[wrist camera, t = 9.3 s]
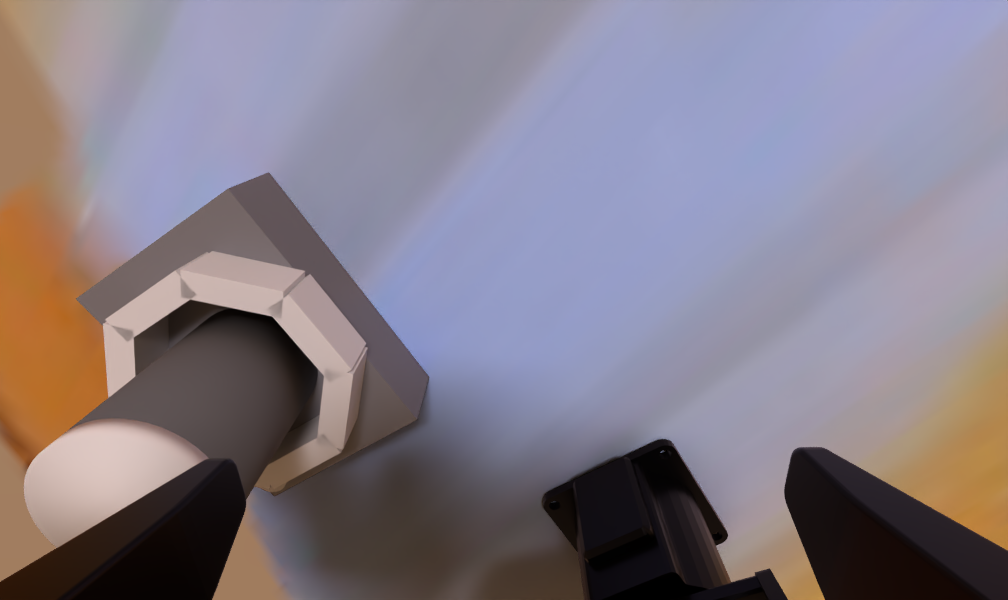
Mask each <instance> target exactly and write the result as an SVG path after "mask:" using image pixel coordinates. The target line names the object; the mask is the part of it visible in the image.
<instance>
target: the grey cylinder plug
mask: <svg viewBox="0 0 1008 600" xmlns="http://www.w3.org/2000/svg"><path fill="white" fill-rule="evenodd" d="M317 377H318V369H317V367H316V366H315V365H314V364H313V363H312V362H311V360H310V359H309V358H308V357H307V356H306V355H305V354H304V352H303V351H302V350H301V349H300V348H299V347H298V345H297V344H296V343H295V342H294V341H293V340H292V339H291V337H290V336H289V335H288V334H287V333H286V332H285V331H284V329H283V328H282V327H281V326H280V325H279V324H278V322H277V321H276V320H275V319H274V318H273V317H272V316H268V315H263V314H258V313H253V312H248V311H244V310H239V309H234V308H230V309H225V310H222V311H220V312H217V313H215V314H214V315H212V316H210V317H209V318H208V319H207V320H205V321H204V322H203V323H201V324H200V325H199V326H198V327H196V328H195V329H194V330H193V331H192V332H190V333H189V334H188V335H187V336H185V337H184V338H183V339H182V340H180V341H179V342H178V343H177V344H175V345H174V346H173V347H172V348H170V349H169V350H168V351H167V352H165V353H164V354H163V355H162V356H160V357H159V358H158V359H157V360H155V361H154V362H153V363H152V364H150V365H149V366H148V367H147V368H145V369H144V370H143V371H142V372H140V373H139V374H138V375H137V376H135V377H134V378H133V379H132V380H130V381H129V382H128V383H127V384H125V385H124V386H123V387H122V388H120V389H119V390H118V391H117V392H115V393H114V394H113V395H112V396H110V397H109V398H108V399H107V400H105V401H104V402H103V403H102V404H100V405H99V406H98V407H97V408H95V409H94V410H93V411H92V412H90V413H89V414H88V415H87V416H85V417H84V418H83V419H82V420H80V421H79V422H78V423H77V424H75V425H74V426H73V427H72V428H70V429H69V430H68V431H67V432H65V433H64V434H63V435H62V436H60V437H59V438H58V439H57V440H55V441H54V442H53V443H52V444H50V445H49V446H48V447H47V448H45V449H44V450H43V451H42V452H40V453H39V454H38V455H37V456H36V457H35V459H34V460H33V461H32V463H31V464H30V466H29V468H28V470H27V473H26V476H25V481H24V497H25V501H26V505H27V508H28V510H29V513H30V515H31V517H32V519H33V520H34V522H35V524H36V526H37V527H38V528H39V530H40V531H41V532H42V534H43V535H44V536H45V537H46V538H47V539H48V540H49V541H50V542H51V543H52V544H53V545H54V546H55V547H57V548H58V547H59V546H61V545H63V544H64V543H66V542H68V541H69V540H71V539H73V538H74V537H76V536H78V535H79V534H81V533H83V532H84V531H86V530H88V529H89V528H91V527H93V526H94V525H96V524H98V523H99V522H101V521H103V520H105V519H106V518H108V517H110V516H111V515H113V514H115V513H116V512H118V511H120V510H121V509H123V508H125V507H126V506H128V505H130V504H131V503H133V502H135V501H136V500H138V499H140V498H141V497H143V496H145V495H146V494H148V493H150V492H151V491H153V490H155V489H156V488H158V487H160V486H161V485H163V484H165V483H166V482H168V481H170V480H171V479H173V478H175V477H176V476H178V475H180V474H181V473H183V472H185V471H186V470H188V469H190V468H192V467H193V466H195V465H197V464H198V463H200V462H202V461H203V460H206V459H210V458H230V459H232V460H234V461H235V463H236V465H237V468H238V471H239V475H240V478H241V481H242V485H243V488H244V492H245V496H246V499H247V497H248V496H249V494H250V492H251V491H252V489H253V488H254V486H255V484H256V483H257V481H258V479H259V478H260V476H261V475H262V473H263V471H264V470H265V468H266V467H267V465H268V463H269V462H270V460H271V459H272V457H273V455H274V454H275V452H276V450H277V449H278V447H279V446H280V444H281V442H282V441H283V439H284V438H285V436H286V434H287V433H288V431H289V430H290V428H291V426H292V425H293V423H294V422H295V420H296V418H297V417H298V415H299V413H300V412H301V410H302V409H303V407H304V405H305V404H306V402H307V401H308V399H309V397H310V396H311V394H312V392H313V390H314V388H315V385H316V382H317Z"/></svg>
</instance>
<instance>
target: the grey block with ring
mask: <svg viewBox="0 0 1008 600" xmlns="http://www.w3.org/2000/svg"><path fill="white" fill-rule="evenodd" d="M76 300H77V301H78V302H79V303H80V304H81V305H82V306H83V307H84V308H85V309H86V310H87V311H88V312H89V313H90V314H91V315H93V316H94V317H95V318H96V319H97V320H98V321H99V322H100V323H101V324H102V325H103V330H104V343H105V357H106V371H107V384H108V398H109V397H110V396H112V395H113V394H114V393H115V392H117V391H118V390H119V389H120V388H122V387H123V386H124V385H125V384H127V383H128V382H129V381H130V380H132V379H133V378H134V377H135V376H137V375H138V374H139V373H140V372H142V371H143V370H144V369H145V368H147V367H148V366H149V365H150V364H152V363H153V362H154V361H155V360H157V359H158V358H159V357H160V356H162V355H163V354H164V353H165V352H167V351H168V350H169V349H170V348H172V347H173V346H174V345H175V344H177V343H178V342H179V341H180V340H182V339H183V338H184V337H185V336H187V335H188V334H189V333H190V332H192V331H193V330H194V329H195V328H196V327H198V326H199V325H200V324H201V323H203V322H204V321H205V320H207V319H208V318H209V317H210V316H212V315H214V314H215V313H217V312H220V311H222V310H225V309H230V308H234V309H239V310H244V311H248V312H253V313H258V314H263V315H268V316H272V317H273V318H274V319H275V320H276V321H277V322H278V324H279V325H280V326H281V327H282V328H283V329H284V331H285V332H286V333H287V334H288V335H289V336H290V337H291V339H292V340H293V341H294V342H295V343H296V344H297V345H298V347H299V348H300V349H301V350H302V351H303V352H304V354H305V355H306V356H307V357H308V358H309V359H310V360H311V362H312V363H313V364H314V365H315V366H316V367H317V369H318V377H317V382H316V385H315V388H314V390H313V392H312V394H311V396H310V397H309V399H308V401H307V402H306V404H305V405H304V407H303V409H302V410H301V412H300V413H299V415H298V417H297V418H296V420H295V422H294V423H293V425H292V426H291V428H290V430H289V431H288V433H287V434H286V436H285V438H284V439H283V441H282V442H281V444H280V446H279V447H278V449H277V450H276V452H275V454H274V455H273V457H272V459H271V460H270V462H269V463H268V465H267V467H266V468H265V470H264V471H263V473H262V475H261V476H260V478H259V479H258V481H257V483H256V484H255V486H254V487H259V488H261V489H263V490H265V491H269V492H271V493H272V494H273V495H274V496H276V495H278V494H280V493H282V492H283V491H285V490H287V489H289V488H291V487H293V486H295V485H296V484H298V483H300V482H302V481H304V480H306V479H308V478H310V477H311V476H313V475H315V474H317V473H319V472H321V471H323V470H324V469H326V468H328V467H330V466H332V465H334V464H336V463H337V462H339V461H341V460H343V459H345V458H347V457H349V456H350V455H352V454H354V453H356V452H358V451H360V450H362V449H364V448H365V447H367V446H369V445H371V444H373V443H375V442H377V441H378V440H380V439H382V438H384V437H386V436H388V435H390V434H391V433H393V432H395V431H397V430H399V429H401V428H403V427H404V426H406V425H408V424H410V423H412V422H414V421H416V420H417V419H418V415H419V412H420V408H421V405H422V401H423V397H424V394H425V390H426V387H427V383H428V380H429V376H428V375H427V374H426V372H425V371H424V370H423V369H422V367H421V366H420V365H419V363H418V362H417V361H416V360H415V358H414V357H413V356H412V355H411V353H410V352H409V351H408V349H407V348H406V347H405V346H404V344H403V343H402V342H401V340H400V339H399V338H398V337H397V335H396V334H395V333H394V332H393V330H392V329H391V328H390V326H389V325H388V324H387V323H386V321H385V320H384V319H383V317H382V316H381V315H380V314H379V312H378V311H377V310H376V309H375V307H374V306H373V305H372V303H371V302H370V301H369V300H368V298H367V297H366V296H365V295H364V293H363V292H362V291H361V289H360V288H359V287H358V286H357V284H356V283H355V282H354V280H353V279H352V278H351V277H350V275H349V274H348V273H347V272H346V270H345V269H344V268H343V266H342V265H341V264H340V263H339V261H338V260H337V259H336V257H335V256H334V255H333V254H332V252H331V251H330V250H329V249H328V247H327V246H326V245H325V243H324V242H323V241H322V240H321V238H320V237H319V236H318V234H317V233H316V232H315V231H314V229H313V228H312V227H311V226H310V224H309V223H308V222H307V220H306V219H305V218H304V217H303V215H302V214H301V213H300V211H299V210H298V209H297V208H296V206H295V205H294V204H293V203H292V201H291V200H290V199H289V197H288V196H287V195H286V194H285V192H284V191H283V190H282V188H281V187H280V186H279V185H278V183H277V182H276V181H275V180H274V178H273V177H272V176H271V174H270V173H266V174H264V175H261V176H259V177H256V178H254V179H251V180H249V181H246V182H244V183H241V184H239V185H236V186H234V187H231V188H229V189H227V190H226V191H224V192H223V193H221V194H220V195H219V196H217V197H216V198H214V199H213V200H212V201H210V202H209V203H208V204H206V205H205V206H203V207H202V208H201V209H199V210H198V211H197V212H195V213H194V214H192V215H191V216H190V217H188V218H187V219H185V220H184V221H183V222H181V223H180V224H179V225H177V226H176V227H174V228H173V229H172V230H170V231H169V232H168V233H166V234H165V235H163V236H162V237H161V238H159V239H158V240H156V241H155V242H154V243H152V244H151V245H150V246H148V247H147V248H145V249H144V250H143V251H141V252H140V253H139V254H137V255H136V256H134V257H133V258H132V259H130V260H129V261H128V262H126V263H125V264H123V265H122V266H121V267H119V268H118V269H116V270H115V271H114V272H112V273H111V274H110V275H108V276H107V277H105V278H104V279H103V280H101V281H100V282H99V283H97V284H96V285H94V286H93V287H92V288H90V289H89V290H87V291H86V292H85V293H83V294H82V295H81V296H79V297H78V298H76Z"/></svg>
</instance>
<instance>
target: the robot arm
mask: <svg viewBox="0 0 1008 600" xmlns="http://www.w3.org/2000/svg"><path fill="white" fill-rule="evenodd" d="M663 450H668V451H667V452H666V453H660V452H661V451H663ZM784 494H785V500H786V504H787V507H788V509H789V512H790V514H791V517H792V519H793V522H794V524H795V527H796V529H797V532H798V534H799V537H800V539H801V542H802V544H803V547H804V549H805V552H806V554H807V557H808V559H809V562H810V564H811V567H812V569H813V572H814V574H815V577H816V579H817V582H818V584H819V586H820V589H821V591H822V593H823V596H824V598H825V600H1008V551H1007V550H1006V549H1004V548H1002V547H1000V546H998V545H997V544H995V543H993V542H991V541H990V540H988V539H986V538H984V537H982V536H981V535H979V534H977V533H975V532H973V531H972V530H970V529H968V528H966V527H965V526H963V525H961V524H959V523H957V522H956V521H954V520H952V519H950V518H948V517H947V516H945V515H943V514H941V513H940V512H938V511H936V510H934V509H932V508H931V507H929V506H927V505H925V504H923V503H922V502H920V501H918V500H916V499H914V498H913V497H911V496H909V495H907V494H906V493H904V492H902V491H900V490H898V489H897V488H895V487H893V486H891V485H889V484H888V483H886V482H884V481H882V480H881V479H879V478H877V477H875V476H873V475H872V474H870V473H868V472H866V471H864V470H863V469H861V468H859V467H857V466H856V465H854V464H852V463H850V462H848V461H847V460H845V459H843V458H841V457H839V456H838V455H836V454H834V453H832V452H831V451H829V450H827V449H825V448H822V447H800V448H797V449H795V450H794V451H793V453H792V455H791V459H790V464H789V469H788V473H787V478H786V483H785V489H784ZM553 501H556V502H557V503H551V502H553ZM543 504H544V509H545V510H546V512H547V513H548V514H549V516H550V517H551V518H552V520H553V521H554V522H555V523H556V525H557V526H558V527H559V529H560V530H561V531H562V532H563V534H564V535H565V536H566V538H567V539H568V540H569V542H570V543H571V544H572V545H573V547H574V548H575V549H576V551H577V552H578V555H579V563H580V570H581V578H582V585H583V593H584V600H788V599H787V597H786V595H785V594H784V592H783V590H782V589H781V587H780V585H779V583H778V582H777V580H776V578H775V577H774V575H773V573H772V571H771V570H770V569H766V570H763V571H759V572H756V573H755V576H753V577H749V578H745V579H742V580H738V581H735V582H731V580H730V578H729V576H728V573H727V571H726V569H725V566H724V564H723V562H722V559H721V557H720V555H719V552H718V550H717V548H716V545H718V544H721V543H723V542H724V541H725V540H726V539H727V537H728V534H727V531H726V529H725V527H724V525H723V523H722V522H721V520H720V518H719V517H718V515H717V514H716V512H715V510H714V509H713V507H712V506H711V504H710V502H709V501H708V499H707V497H706V496H705V494H704V493H703V491H702V489H701V488H700V486H699V484H698V483H697V481H696V480H695V478H694V476H693V475H692V473H691V472H690V470H689V468H688V467H687V465H686V463H685V462H684V460H683V459H682V457H681V455H680V454H679V452H678V450H677V449H676V447H675V446H674V444H673V443H672V442H671V441H669V440H666V439H662V440H658V441H656V442H654V443H652V444H650V445H647V446H645V447H643V448H641V449H639V450H637V451H635V452H633V453H630V454H628V455H626V456H624V457H622V458H620V459H618V460H615V461H613V462H611V463H609V464H607V465H605V466H603V467H601V468H598V469H596V470H594V471H592V472H590V473H588V474H586V475H583V476H581V477H579V478H577V479H575V480H573V481H571V482H569V483H566V484H564V485H562V486H560V487H558V488H556V489H554V490H552V491H549V492H548V493H546V494H545V496H544V497H543ZM245 508H246V496H245V492H244V488H243V485H242V481H241V478H240V475H239V471H238V468H237V465H236V463H235V461H234V460H232V459H230V458H210V459H206V460H203V461H202V462H200V463H198V464H197V465H195V466H193V467H192V468H190V469H188V470H186V471H185V472H183V473H181V474H180V475H178V476H176V477H175V478H173V479H171V480H170V481H168V482H166V483H165V484H163V485H161V486H160V487H158V488H156V489H155V490H153V491H151V492H150V493H148V494H146V495H145V496H143V497H141V498H140V499H138V500H136V501H135V502H133V503H131V504H130V505H128V506H126V507H125V508H123V509H121V510H120V511H118V512H116V513H115V514H113V515H111V516H110V517H108V518H106V519H105V520H103V521H101V522H99V523H98V524H96V525H94V526H93V527H91V528H89V529H88V530H86V531H84V532H83V533H81V534H79V535H78V536H76V537H74V538H73V539H71V540H69V541H68V542H66V543H64V544H63V545H61V546H59V547H58V548H56V549H54V550H53V551H51V552H49V553H48V554H46V555H44V556H43V557H41V558H39V559H38V560H36V561H34V562H33V563H31V564H29V565H28V566H26V567H24V568H23V569H21V570H19V571H18V572H16V573H14V574H13V575H11V576H9V577H7V578H6V579H4V580H2V581H1V582H0V600H212V598H213V596H214V593H215V591H216V588H217V586H218V583H219V580H220V577H221V575H222V572H223V570H224V567H225V564H226V561H227V559H228V556H229V553H230V551H231V548H232V545H233V542H234V540H235V537H236V534H237V531H238V529H239V526H240V523H241V521H242V518H243V515H244V512H245ZM716 532H717V533H716ZM714 533H715V534H714Z"/></svg>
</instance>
